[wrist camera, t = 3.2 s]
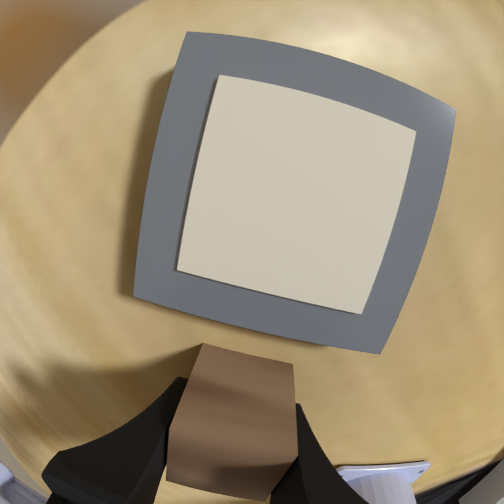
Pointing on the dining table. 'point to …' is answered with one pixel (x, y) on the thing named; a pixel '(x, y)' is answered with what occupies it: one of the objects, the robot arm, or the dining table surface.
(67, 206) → the dining table surface
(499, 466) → the grey corral
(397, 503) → the robot arm
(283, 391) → the walnut block
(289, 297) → the plate
